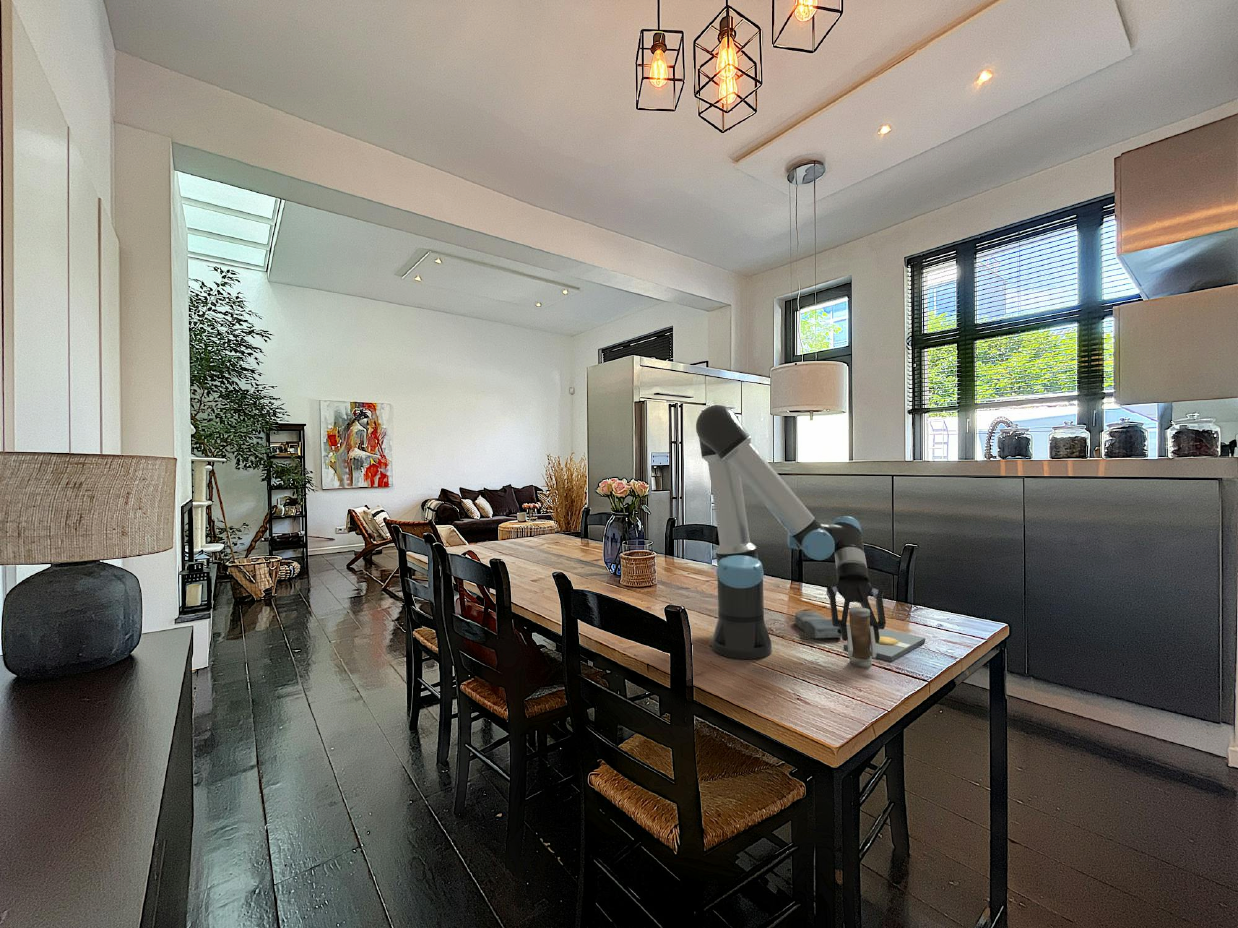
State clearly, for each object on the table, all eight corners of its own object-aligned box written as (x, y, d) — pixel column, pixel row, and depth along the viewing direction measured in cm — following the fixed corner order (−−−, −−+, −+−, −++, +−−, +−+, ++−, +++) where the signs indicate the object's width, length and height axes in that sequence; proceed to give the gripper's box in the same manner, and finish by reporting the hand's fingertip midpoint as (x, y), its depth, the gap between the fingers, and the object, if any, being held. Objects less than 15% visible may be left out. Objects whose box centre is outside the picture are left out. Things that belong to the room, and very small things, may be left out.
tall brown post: (851, 666, 126) (849, 611, 126) (848, 659, 131) (847, 606, 131) (873, 668, 125) (872, 612, 125) (869, 661, 129) (868, 607, 129)
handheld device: (815, 619, 165) (815, 604, 165) (847, 641, 145) (846, 624, 145) (785, 620, 164) (784, 605, 164) (812, 642, 144) (812, 625, 144)
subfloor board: (891, 661, 129) (891, 655, 129) (843, 648, 138) (843, 643, 138) (925, 642, 142) (925, 637, 142) (879, 632, 151) (879, 627, 151)
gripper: (886, 578, 140) (901, 664, 124) (815, 575, 145) (822, 658, 129) (889, 561, 135) (906, 649, 119) (816, 559, 140) (823, 643, 124)
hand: (862, 653), depth 124 cm, fingers closed on tall brown post, 4 cm apart
